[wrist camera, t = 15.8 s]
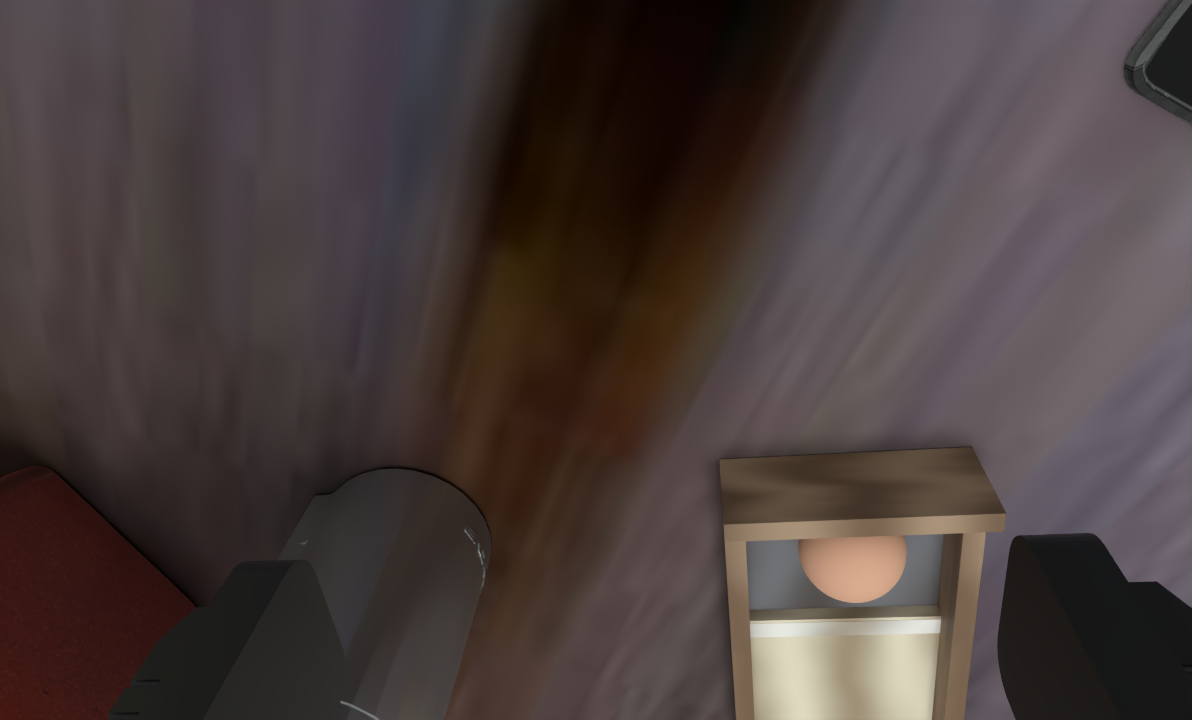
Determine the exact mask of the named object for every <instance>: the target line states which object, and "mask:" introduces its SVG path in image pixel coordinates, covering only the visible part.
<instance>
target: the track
mask: <svg viewBox="0 0 1192 720" xmlns="http://www.w3.org/2000/svg"><path fill="white" fill-rule="evenodd" d="M719 464H720V479H721V495H722V510H723V526H724V541H725V557H726V572H727V587H728V603H729V618H730V634H731V649H732V664H733V680H734V695H735V711H736V720H964V713H965V705H966V696H967V688H968V679H969V671H970V662H971V654H972V646H973V637H974V629H975V620H976V612H977V603H978V595H979V587H980V578H981V570H982V561H983V553H984V544H985V536H986V532H1004V527H1005V519H1006V512H1005V510H1004V508H1003V506H1002V504H1001V502H1000V500H999V499H998V497H997V495H996V493H995V491H994V489H993V487H992V485H991V483H990V481H989V479H988V477H987V475H986V473H985V471H984V470H983V468H982V466H981V464H980V462H979V460H978V458H977V456H976V454H975V452H974V450H973V448H972V447H961V448H941V449H920V450H900V451H880V452H860V453H840V454H820V455H799V456H779V457H759V458H739V459H719ZM901 535H904V538H905V542H906V549H907V557H906V564H905V568H904V571H903V573H902V575H901V577H900V579H899V581H898V582H897V583H896V585H895V586H894V587H893V588H892V589H891V590H890V591H889V592H887V593H886V594H885V595H883V596H881V597H879V598H877V599H875V600H872V601H868V602H863V603H849V602H843V601H840V600H836V599H834V598H832V597H830V596H828V595H826V594H825V593H823V592H822V591H820V590H819V589H818V588H817V587H816V586H815V585H814V584H813V583H812V582H811V581H810V579H809V578H808V577H807V575H806V573H805V572H804V569H803V567H802V565H801V561H800V558H799V551H798V543H799V539H820V538H847V537H874V536H901Z"/></svg>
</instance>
